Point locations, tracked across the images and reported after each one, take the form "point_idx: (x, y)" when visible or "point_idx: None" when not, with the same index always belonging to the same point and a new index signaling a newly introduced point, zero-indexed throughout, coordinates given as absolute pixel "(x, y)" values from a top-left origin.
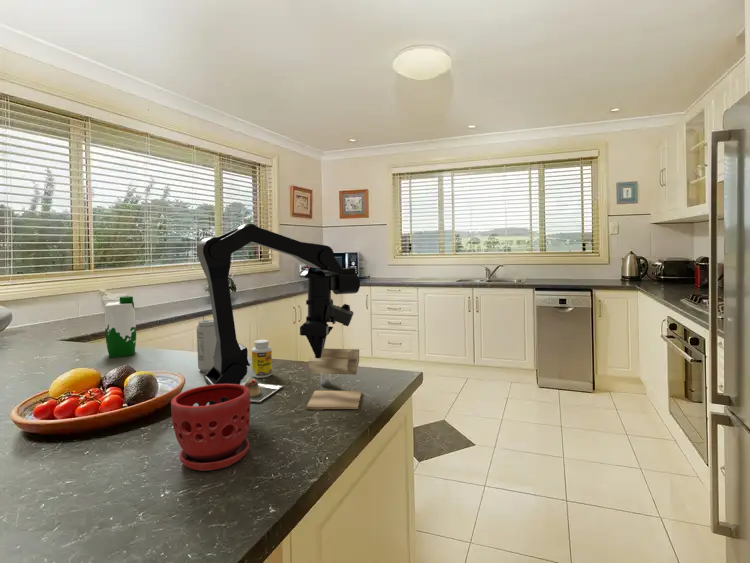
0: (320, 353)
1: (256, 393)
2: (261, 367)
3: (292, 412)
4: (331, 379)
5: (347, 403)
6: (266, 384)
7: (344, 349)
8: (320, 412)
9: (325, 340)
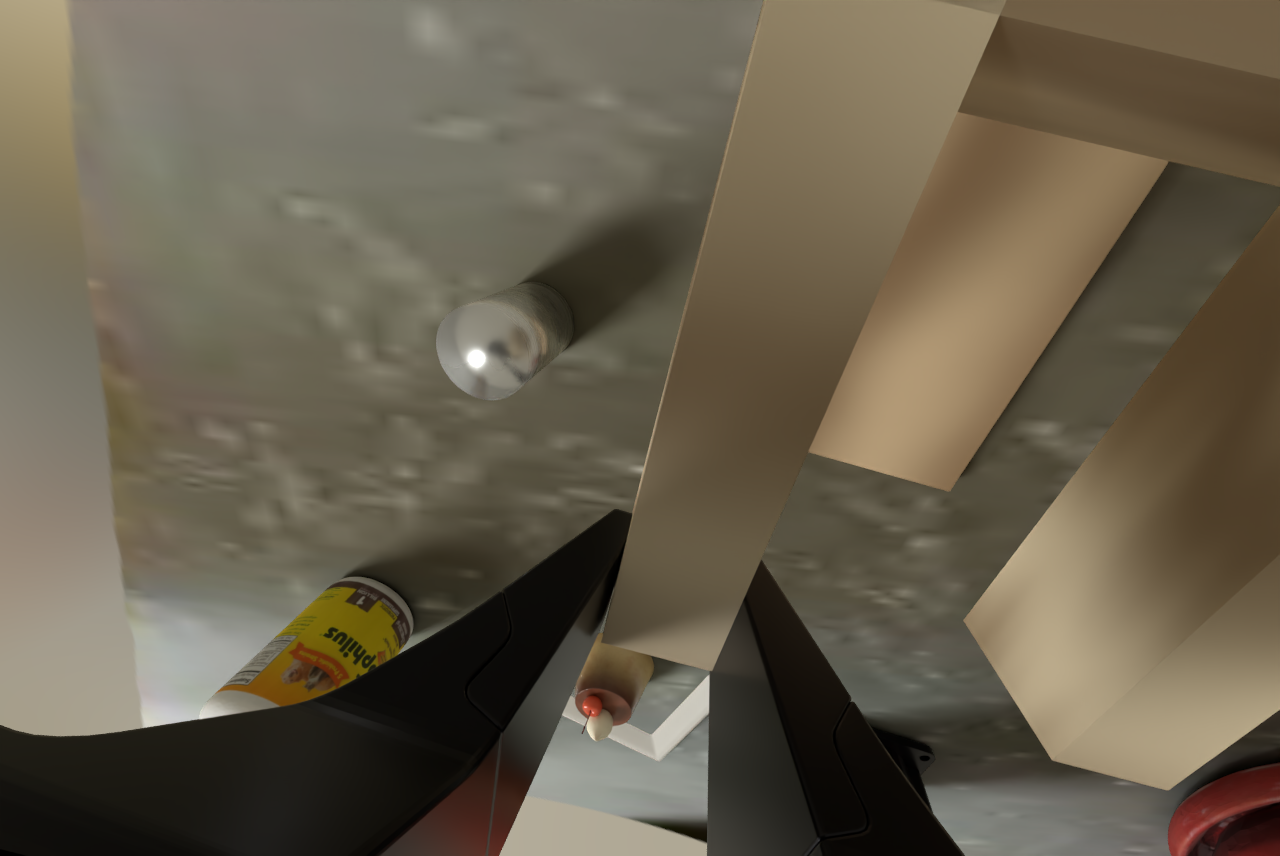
0: (778, 598)
1: (642, 656)
2: (381, 659)
3: (953, 548)
4: (530, 292)
5: (1040, 210)
6: None
7: (752, 190)
8: (1042, 413)
9: (481, 609)
